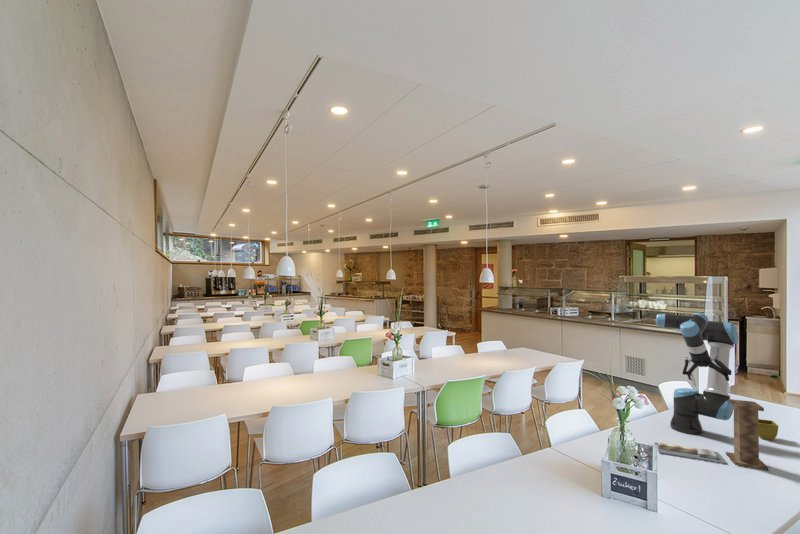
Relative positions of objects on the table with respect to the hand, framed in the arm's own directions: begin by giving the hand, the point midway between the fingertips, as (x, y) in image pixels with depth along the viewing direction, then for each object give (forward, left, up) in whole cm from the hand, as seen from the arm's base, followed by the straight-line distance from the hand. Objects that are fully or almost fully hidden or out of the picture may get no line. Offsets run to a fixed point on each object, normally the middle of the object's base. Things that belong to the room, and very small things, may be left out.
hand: (711, 385), depth 200 cm
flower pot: (+13, +42, -33) cm, 55 cm away
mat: (-5, -16, -33) cm, 37 cm away
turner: (-6, -17, -32) cm, 37 cm away
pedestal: (+15, -5, -33) cm, 36 cm away
